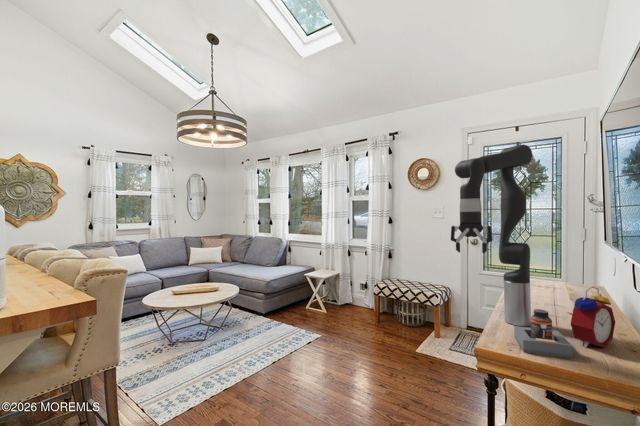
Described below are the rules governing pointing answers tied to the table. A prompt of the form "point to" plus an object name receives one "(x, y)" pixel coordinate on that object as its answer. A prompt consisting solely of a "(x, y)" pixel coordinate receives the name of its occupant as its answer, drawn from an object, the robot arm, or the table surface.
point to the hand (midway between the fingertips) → (471, 252)
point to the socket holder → (543, 343)
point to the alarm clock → (593, 320)
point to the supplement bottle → (541, 325)
